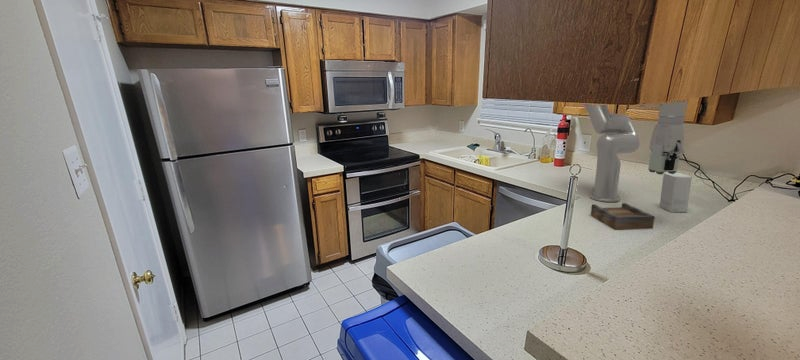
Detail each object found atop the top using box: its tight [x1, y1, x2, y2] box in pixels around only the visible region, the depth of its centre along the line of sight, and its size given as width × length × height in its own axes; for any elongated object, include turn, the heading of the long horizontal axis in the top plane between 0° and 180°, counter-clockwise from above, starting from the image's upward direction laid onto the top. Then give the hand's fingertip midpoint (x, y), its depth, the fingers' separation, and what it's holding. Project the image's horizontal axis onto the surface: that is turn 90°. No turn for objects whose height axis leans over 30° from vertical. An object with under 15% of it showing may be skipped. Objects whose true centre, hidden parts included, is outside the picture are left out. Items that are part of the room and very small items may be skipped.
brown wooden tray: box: [590, 202, 655, 231], centre depth 128 cm, size 16×14×5 cm
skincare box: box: [659, 172, 693, 213], centre depth 137 cm, size 8×7×16 cm
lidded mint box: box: [648, 144, 680, 176], centre depth 122 cm, size 5×7×11 cm
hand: (662, 168), depth 123 cm, fingers closed on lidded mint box, 5 cm apart
